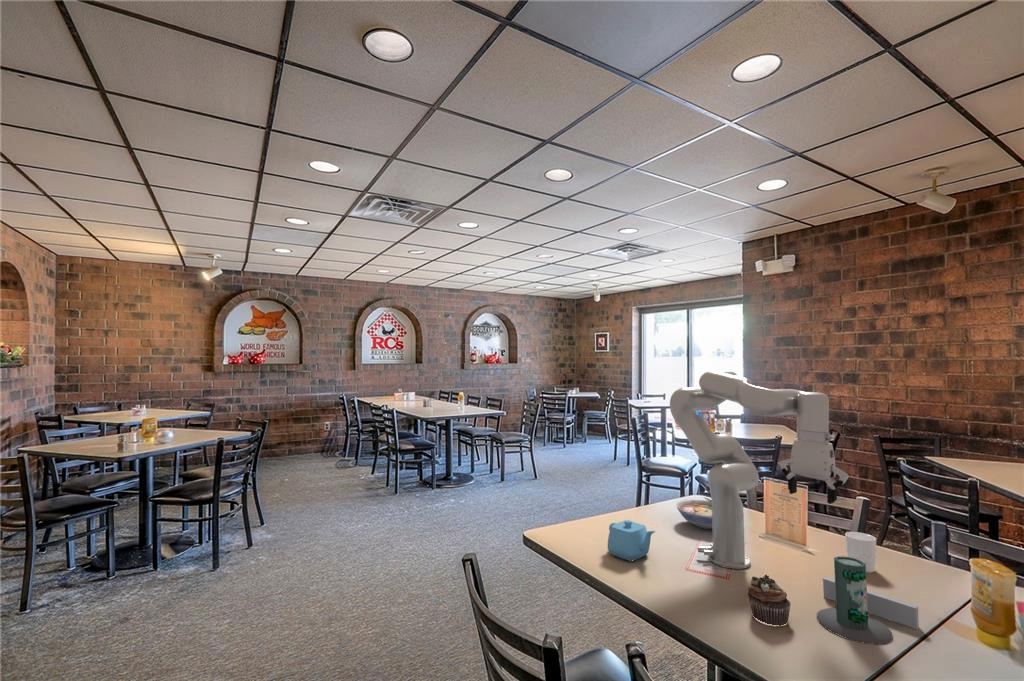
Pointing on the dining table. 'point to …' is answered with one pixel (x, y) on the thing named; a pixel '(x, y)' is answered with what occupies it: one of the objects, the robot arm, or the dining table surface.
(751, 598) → the cupcake
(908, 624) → the panel
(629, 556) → the teapot
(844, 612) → the can
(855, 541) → the white cup
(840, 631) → the mat
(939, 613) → the dining table surface
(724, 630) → the dining table surface
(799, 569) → the dining table surface
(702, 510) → the ramen bowl
